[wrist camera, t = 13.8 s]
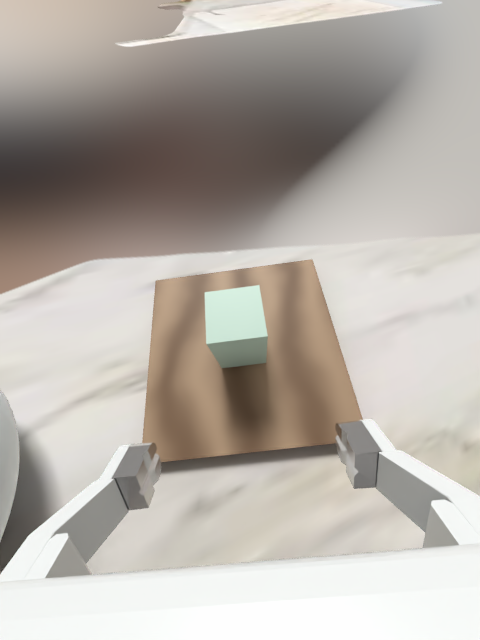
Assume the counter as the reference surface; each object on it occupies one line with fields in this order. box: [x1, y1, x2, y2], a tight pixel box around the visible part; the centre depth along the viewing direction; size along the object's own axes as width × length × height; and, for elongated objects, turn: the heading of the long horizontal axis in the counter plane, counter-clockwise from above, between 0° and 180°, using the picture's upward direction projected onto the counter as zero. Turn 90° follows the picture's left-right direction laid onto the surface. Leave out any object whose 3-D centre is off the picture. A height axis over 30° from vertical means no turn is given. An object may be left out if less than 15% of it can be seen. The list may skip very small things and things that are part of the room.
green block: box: [205, 285, 268, 368], centre depth 23 cm, size 5×5×8 cm
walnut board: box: [142, 260, 363, 462], centre depth 27 cm, size 22×22×1 cm
